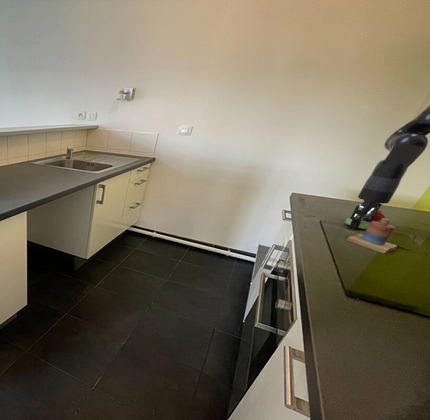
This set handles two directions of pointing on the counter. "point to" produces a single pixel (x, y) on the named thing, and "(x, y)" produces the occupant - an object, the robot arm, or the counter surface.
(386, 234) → the stand
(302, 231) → the counter surface
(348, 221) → the ring
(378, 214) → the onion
